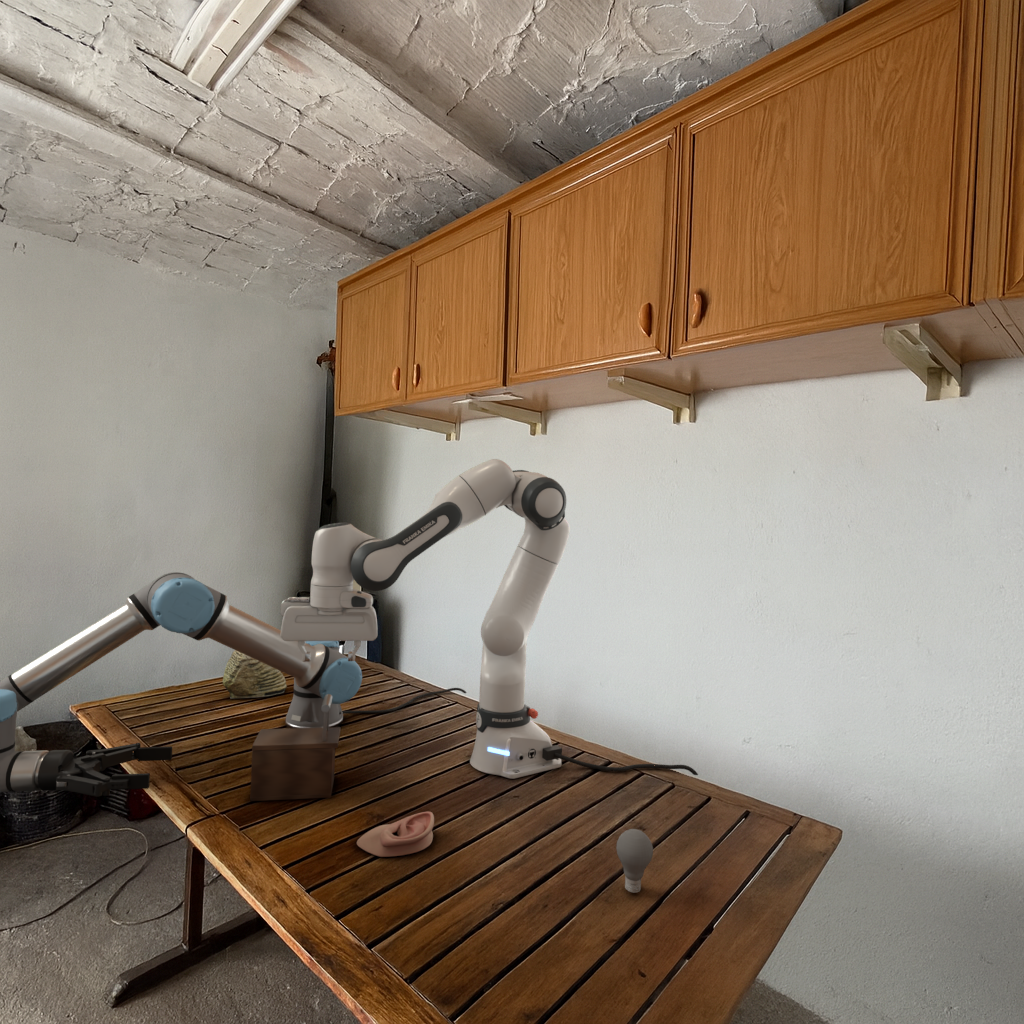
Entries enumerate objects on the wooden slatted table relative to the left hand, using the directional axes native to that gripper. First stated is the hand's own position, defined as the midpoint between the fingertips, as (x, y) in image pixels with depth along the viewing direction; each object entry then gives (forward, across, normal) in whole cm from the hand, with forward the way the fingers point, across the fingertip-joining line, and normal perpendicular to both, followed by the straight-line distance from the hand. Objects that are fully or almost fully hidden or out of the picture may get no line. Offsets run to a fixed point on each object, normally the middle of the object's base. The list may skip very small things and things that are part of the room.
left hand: (161, 766), depth 131 cm
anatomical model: (+48, +24, -6) cm, 54 cm away
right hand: (+33, 0, +22) cm, 39 cm away
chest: (+26, 0, -6) cm, 27 cm away
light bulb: (+86, +44, -6) cm, 97 cm away
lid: (+27, 0, +5) cm, 27 cm away
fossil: (+6, -67, -6) cm, 67 cm away
